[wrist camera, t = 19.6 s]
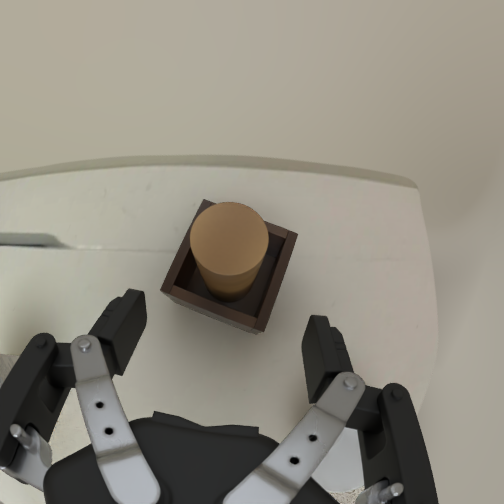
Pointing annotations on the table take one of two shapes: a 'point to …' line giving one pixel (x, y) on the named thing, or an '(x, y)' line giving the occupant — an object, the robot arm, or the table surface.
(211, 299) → the holder
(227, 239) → the peg
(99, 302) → the table surface
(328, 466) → the cup
